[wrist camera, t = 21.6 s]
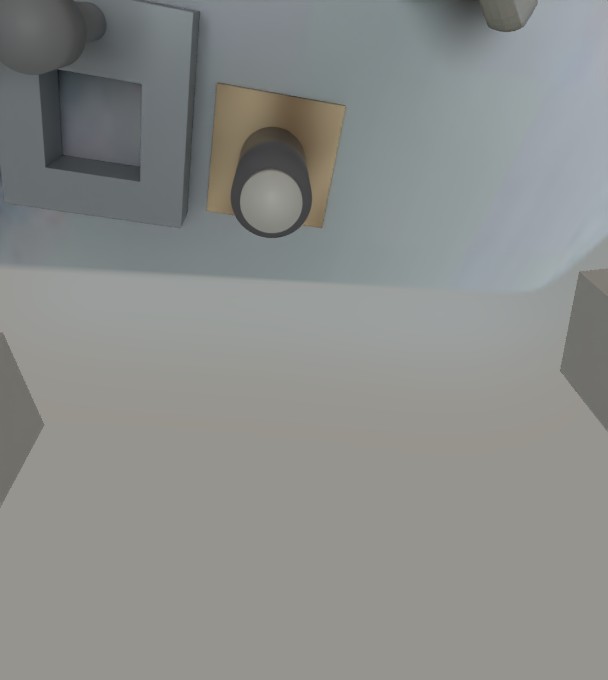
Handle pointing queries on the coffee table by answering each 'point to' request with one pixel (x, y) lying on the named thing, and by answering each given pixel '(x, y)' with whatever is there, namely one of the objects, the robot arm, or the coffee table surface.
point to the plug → (271, 184)
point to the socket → (156, 119)
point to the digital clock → (507, 13)
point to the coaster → (273, 111)
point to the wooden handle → (40, 35)
